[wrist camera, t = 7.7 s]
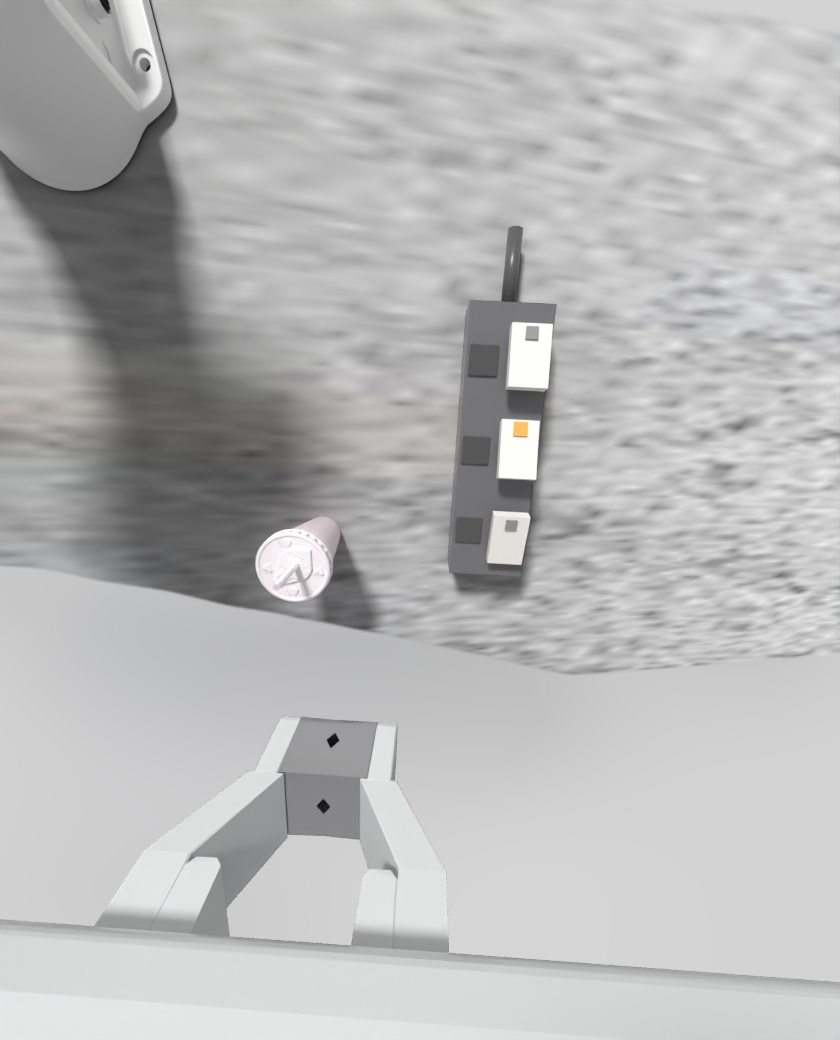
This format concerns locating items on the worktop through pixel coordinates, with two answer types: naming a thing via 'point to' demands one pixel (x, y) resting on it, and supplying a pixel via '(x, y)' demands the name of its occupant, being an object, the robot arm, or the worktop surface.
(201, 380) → the worktop surface
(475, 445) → the power strip
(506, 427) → the rocker
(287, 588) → the smoothie
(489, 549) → the block
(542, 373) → the plate
